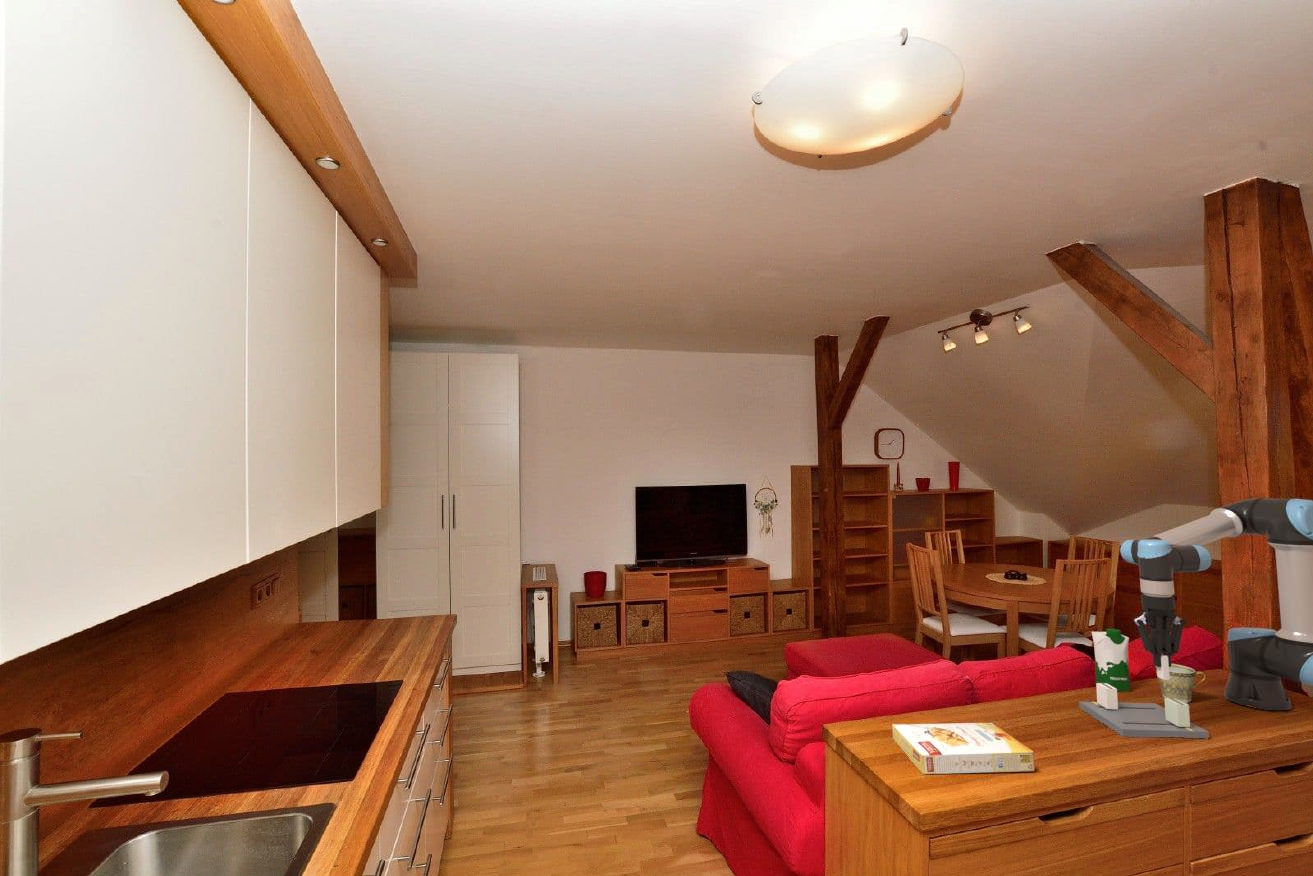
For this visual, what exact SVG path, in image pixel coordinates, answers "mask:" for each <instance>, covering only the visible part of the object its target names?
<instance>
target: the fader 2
mask: <svg viewBox="0 0 1313 876" xmlns="http://www.w3.org/2000/svg"><path fill="white" fill-rule="evenodd" d="M1163 699H1164V708H1165V717H1166V720H1167V721H1169V722H1171V723H1173V724H1175V725H1176V726H1178V727H1190V722H1191V719H1190V718H1191V717H1190V706H1189V703H1184V702H1182V701H1180V700H1178V699H1176V698H1164V697H1163Z"/></svg>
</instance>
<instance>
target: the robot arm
mask: <svg viewBox="0 0 1313 876" xmlns="http://www.w3.org/2000/svg"><path fill="white" fill-rule="evenodd" d="M1243 535H1253V536H1255V535H1256V536H1257V535H1258V536H1265V537H1266V538H1267V545H1268V544H1269V546H1271V547H1272V548H1274V551H1275V561H1276V563H1275V564H1276V574H1277V586H1278V587H1277V588H1278V600H1279V601H1278V602H1279V611H1280V612H1279V613H1280V624H1281V625H1280V626H1281V628H1280V629H1279V630H1278V631H1277V630H1275V629H1271V628H1263V627H1262V628H1261V627H1232V628H1230V629H1229V630H1228V632H1227V640H1226V642H1227V649H1228V651H1227V652H1228V662H1229V676H1228V678H1227V681H1226V685H1225V687H1224V689H1223V693H1224V696H1225V697H1224V698H1225V699H1226V700H1227V699H1228V700H1227V701H1229V700H1231V701H1233V702H1236V703H1238V704H1237V705H1239V704H1241V705H1240V706H1242V705H1249V706H1252V707H1256V708H1260V709H1266V710H1265V711H1267V710H1289V709H1291V710H1292V702H1291V699H1290V698H1289V695H1288V692H1287V690H1286V689H1285V686H1284V684H1283V682H1282V678H1284V679H1287V680H1290V681H1294V682H1298V683H1302V684H1303V685H1306V686H1312V687H1313V500H1312V499H1302V498H1274V497H1273V498H1270V497H1269V498H1268V497H1267V498H1266V497H1254V498H1248V499H1242V500H1239V501H1235V502H1232V503H1229V504H1226V505H1223V506H1220V507H1218V508H1215V509H1213V510H1211V512H1210V513H1209V515H1206V516H1203V517H1200V518H1197V519H1195V520H1193V521H1190V522H1187V523H1183V524H1182V525H1179V526H1176V527H1173V528H1171V529H1169V530H1166V531H1164V532H1161V533H1157V534H1155V535H1153V536H1150V537H1147V538H1143V539H1140V540H1139V539H1127V540H1125V541H1124V542H1122V544H1121V546H1120V555H1121V557H1122V559H1123V560H1124V561H1125V562H1126V563H1129V564H1135V565H1137V566H1138V571H1139V581H1140V582H1139V583H1140V592H1141V593H1142V594H1140V599H1141V607H1142V611H1141V616H1139V617H1137V618H1136V617H1133V618H1132V622H1133V623H1134V625H1136V627H1137V629H1138V630H1137V631H1138V632H1139V633H1138V634H1139V636H1140V639H1141V642H1142V645H1143V649H1144V650H1145V651H1146V652H1148V653H1149V654H1152V659H1153V661H1152V662H1153V665H1154V667H1155V666H1157V673H1156V676H1157V678H1158V677H1159V678H1161V679H1163V680H1170V677H1169V667H1171V664H1172V658H1173V657H1174V656H1175V654H1179V652H1180V651H1179V650H1180V644H1181V641H1182V634H1183V630H1184V629H1183V628H1184V627H1185V626H1186V624H1187V621H1186V619H1183V618H1180V617H1179V616H1178V615H1177V613H1176V611H1175V609H1176V600H1175V597H1174V596H1173V595H1175V587H1174V573H1191V572H1192V573H1197V572H1201V571H1206V570H1208V568H1210V566H1211V564H1212V556H1211V554H1210V552H1209V551H1208V549H1206V548H1205V547H1203V546H1205V545H1208V544H1209V543H1213V542H1216V541H1218V540H1221V539H1224V538H1236V537H1239V536H1243ZM1147 624H1148V627H1147ZM1231 701H1230V702H1231ZM1233 702H1232V703H1233ZM1236 703H1235V704H1236ZM1260 709H1259V710H1260ZM1289 711H1290V710H1289Z"/></svg>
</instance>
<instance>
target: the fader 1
mask: <svg viewBox="0 0 1313 876" xmlns="http://www.w3.org/2000/svg"><path fill="white" fill-rule="evenodd" d="M1095 685H1096V686H1095V687H1096V702H1097V703H1098V704H1100V705H1102V706H1103V707H1105V708H1106V709H1118V702H1119V701H1118V692H1117V689H1116V688H1114V687H1112V686H1111V685H1109V684H1107V683H1096V682H1095Z"/></svg>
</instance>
